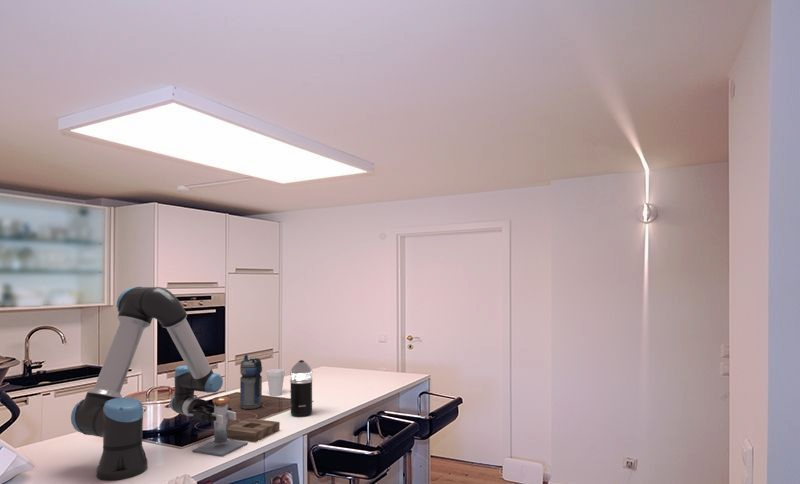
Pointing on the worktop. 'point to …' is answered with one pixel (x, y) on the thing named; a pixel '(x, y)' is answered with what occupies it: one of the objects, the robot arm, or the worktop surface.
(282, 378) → the foam cup
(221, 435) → the steel plug
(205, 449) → the rubber pad
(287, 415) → the worktop surface
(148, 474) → the worktop surface
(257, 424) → the bore block
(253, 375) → the beverage bottle
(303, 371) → the black coffee grinder
